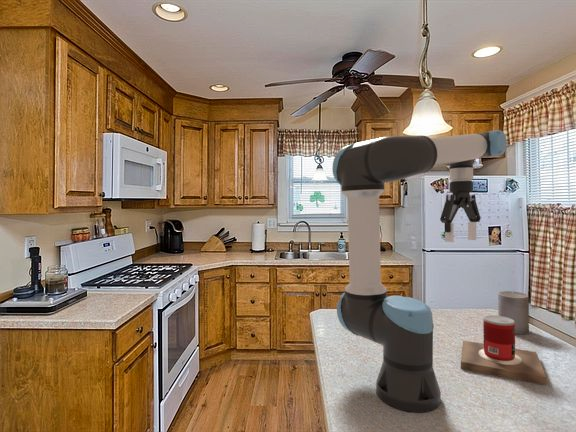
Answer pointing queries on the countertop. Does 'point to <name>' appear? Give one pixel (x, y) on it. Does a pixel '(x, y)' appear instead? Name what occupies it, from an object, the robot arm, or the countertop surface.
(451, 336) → the countertop surface
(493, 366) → the board
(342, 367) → the countertop surface
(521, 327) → the pillar candle
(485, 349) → the canned food
